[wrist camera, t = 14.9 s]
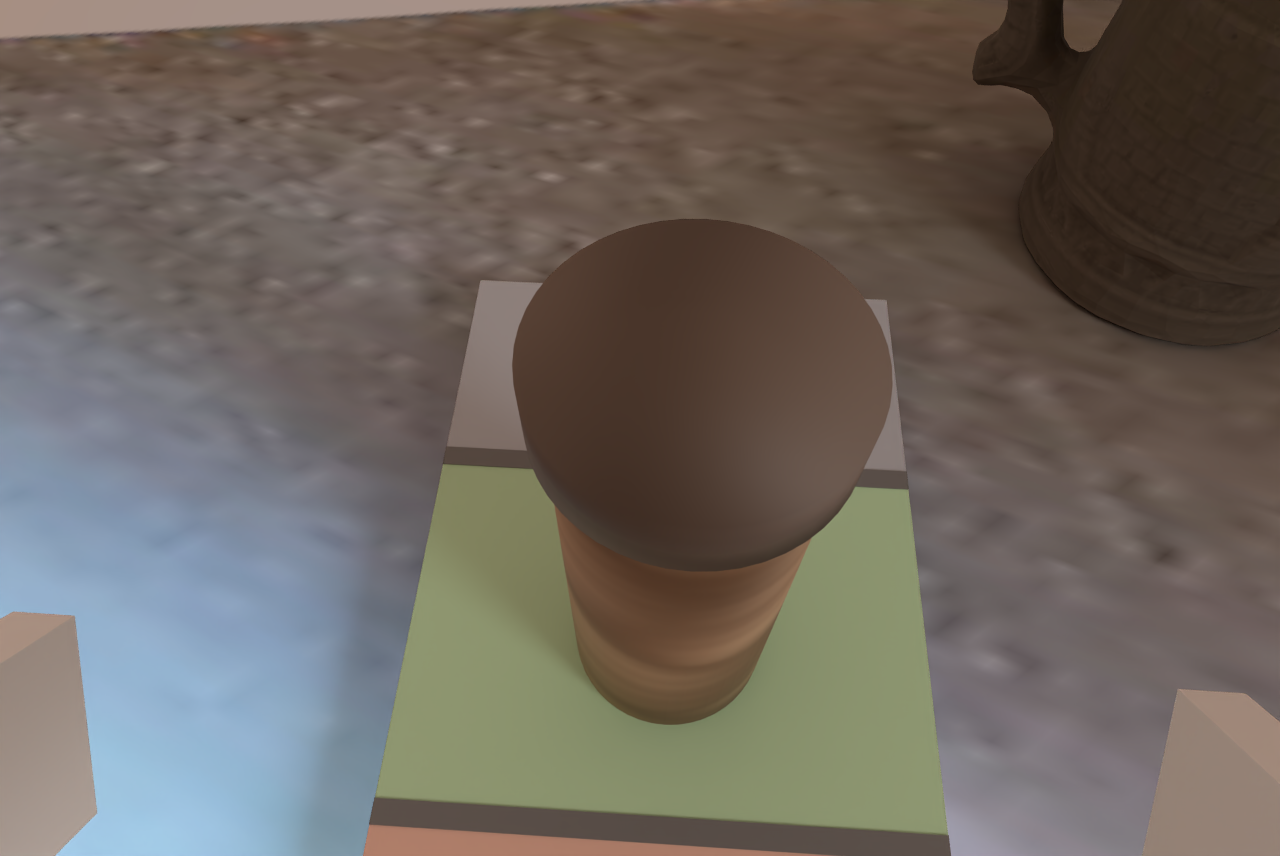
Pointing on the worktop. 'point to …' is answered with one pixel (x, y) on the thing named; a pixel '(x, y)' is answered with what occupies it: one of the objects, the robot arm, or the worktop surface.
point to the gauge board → (623, 745)
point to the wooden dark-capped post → (693, 444)
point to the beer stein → (1155, 162)
